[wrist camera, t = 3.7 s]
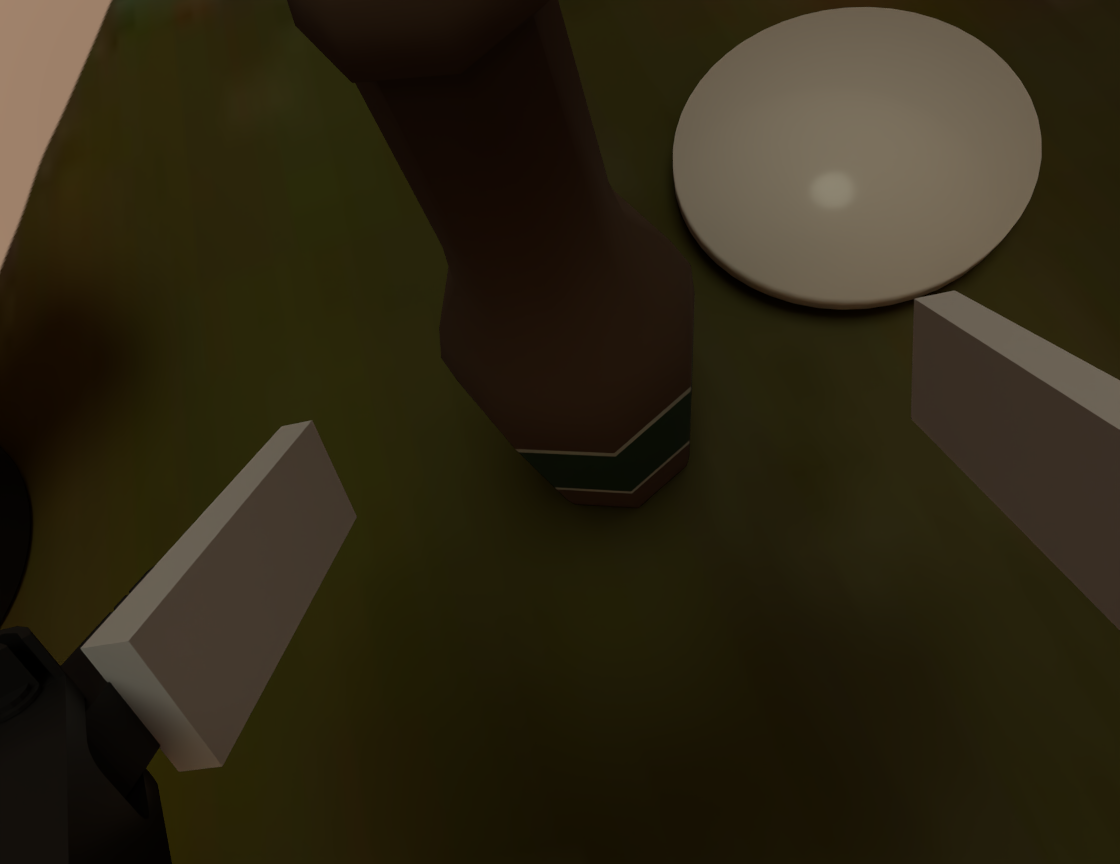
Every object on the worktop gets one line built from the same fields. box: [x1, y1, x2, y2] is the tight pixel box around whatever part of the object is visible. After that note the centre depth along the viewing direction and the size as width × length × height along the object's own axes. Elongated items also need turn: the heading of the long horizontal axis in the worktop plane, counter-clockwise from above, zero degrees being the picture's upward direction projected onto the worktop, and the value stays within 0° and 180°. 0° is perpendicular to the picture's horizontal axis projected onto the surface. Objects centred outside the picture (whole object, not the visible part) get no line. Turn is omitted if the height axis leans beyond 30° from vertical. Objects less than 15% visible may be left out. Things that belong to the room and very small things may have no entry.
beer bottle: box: [287, 0, 694, 508], centre depth 19 cm, size 8×8×24 cm
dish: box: [673, 7, 1041, 310], centre depth 31 cm, size 16×16×2 cm
